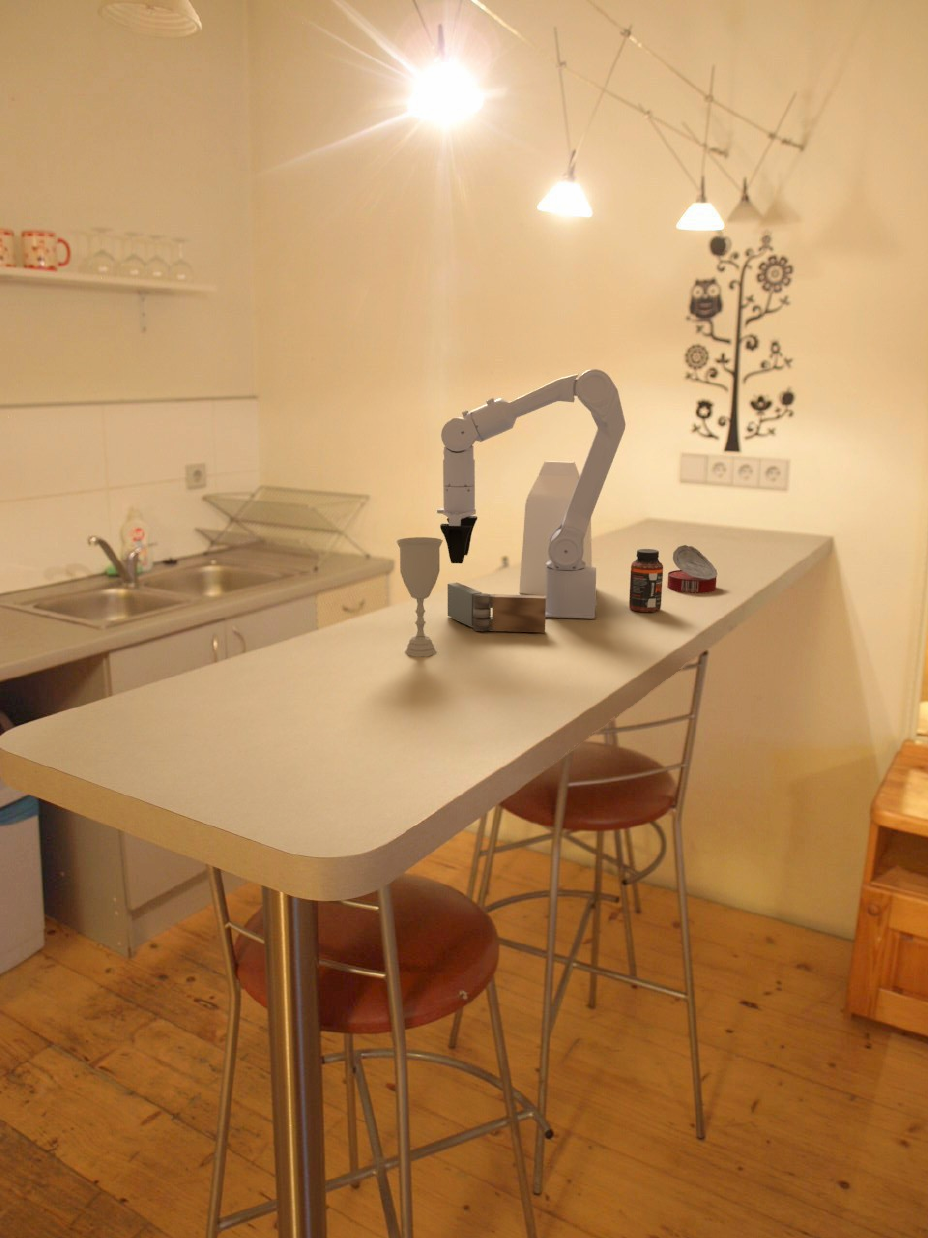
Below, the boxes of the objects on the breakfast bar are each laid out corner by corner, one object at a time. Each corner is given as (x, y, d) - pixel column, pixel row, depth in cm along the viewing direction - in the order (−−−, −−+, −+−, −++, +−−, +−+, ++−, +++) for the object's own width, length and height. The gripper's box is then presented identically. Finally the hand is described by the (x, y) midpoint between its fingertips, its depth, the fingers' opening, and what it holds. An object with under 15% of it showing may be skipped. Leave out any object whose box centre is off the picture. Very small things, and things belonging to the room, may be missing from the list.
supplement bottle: (660, 614, 184) (664, 553, 181) (628, 612, 185) (630, 552, 183) (661, 606, 190) (664, 548, 187) (629, 605, 191) (632, 546, 188)
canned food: (700, 605, 211) (725, 564, 209) (707, 612, 201) (733, 568, 200) (653, 579, 211) (677, 538, 210) (658, 584, 201) (683, 541, 200)
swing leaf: (493, 629, 172) (494, 596, 170) (478, 632, 171) (478, 597, 169) (459, 614, 182) (459, 582, 181) (445, 616, 181) (445, 583, 180)
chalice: (408, 660, 155) (407, 546, 151) (391, 649, 161) (389, 539, 157) (450, 654, 159) (450, 542, 154) (432, 644, 164) (431, 535, 160)
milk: (519, 593, 201) (521, 463, 195) (537, 581, 211) (539, 458, 205) (576, 598, 197) (581, 465, 190) (592, 586, 207) (596, 460, 200)
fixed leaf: (545, 628, 173) (546, 595, 171) (544, 633, 170) (545, 598, 168) (474, 626, 174) (474, 592, 173) (472, 630, 171) (472, 596, 170)
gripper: (442, 480, 188) (443, 551, 192) (431, 489, 174) (432, 566, 178) (479, 480, 187) (479, 551, 191) (471, 490, 174) (471, 566, 177)
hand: (459, 558), depth 184 cm, fingers open, 7 cm apart
